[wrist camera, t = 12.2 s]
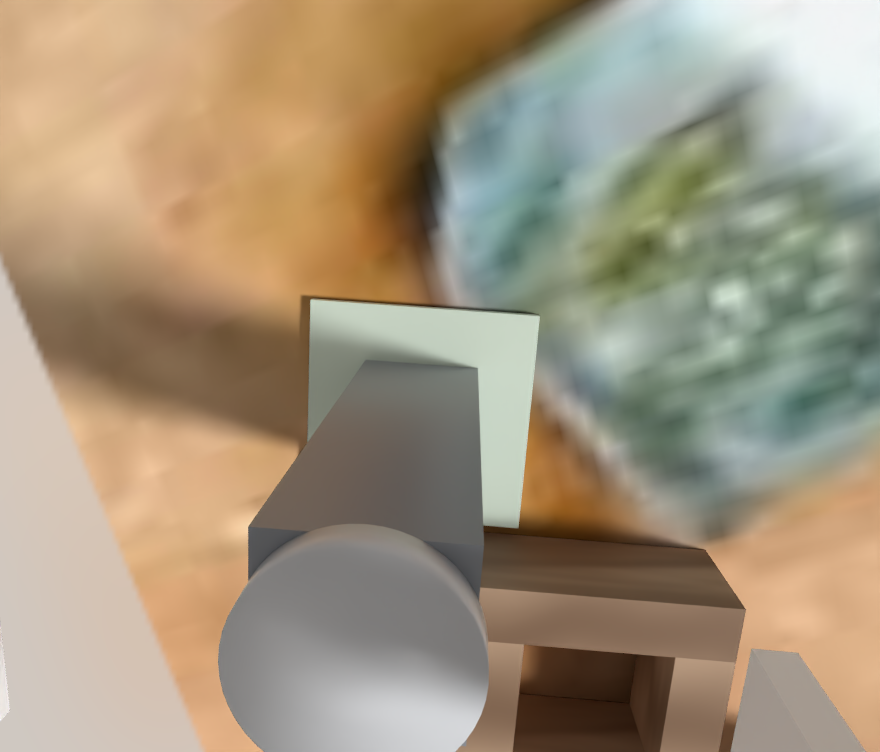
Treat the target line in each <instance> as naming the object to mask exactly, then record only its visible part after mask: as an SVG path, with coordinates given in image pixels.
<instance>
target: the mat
mask: <svg viewBox="0 0 880 752" xmlns="http://www.w3.org/2000/svg"><path fill="white" fill-rule="evenodd" d="M539 319H540V316H539V315H537V314H523V313H509V312H495V311H481V310H467V309H453V308H439V307H425V306H412V305H398V304H384V303H370V302H356V301H342V300H328V299H314V298H313V299H311V300H310V345H309V391H308V437H307V442H308V441H309V440H310V438H311V437H312V435H313V434H314V432H315V431H316V430H317V428H318V427H319V425H320V424H321V423H322V421H323V420H324V418H325V417H326V415H327V414H328V413H329V411H330V410H331V408H332V407H333V405H334V404H335V403H336V401H337V400H338V398H339V397H340V395H341V394H342V393H343V391H344V390H345V388H346V387H347V385H348V384H349V383H350V381H351V380H352V378H353V377H354V375H355V374H356V373H357V371H358V370H359V368H360V367H361V366H362V364H363V363H364V361H365V360H375V361H388V362H402V363H415V364H429V365H442V366H456V367H469V368H478V385H479V415H480V444H481V474H482V503H483V526H496V527H508V528H518V527H519V517H520V507H521V498H522V488H523V478H524V468H525V458H526V448H527V438H528V428H529V418H530V408H531V398H532V388H533V378H534V368H535V358H536V349H537V339H538V329H539Z"/></svg>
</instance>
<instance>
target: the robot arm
mask: <svg viewBox="0 0 880 752" xmlns="http://www.w3.org/2000/svg"><path fill="white" fill-rule="evenodd" d="M9 711H10V707H9V698H8V689H7V680H6V670H5V662H4V652H3V643H2V633H1V624H0V720H2V719H3V717H4V716H5V715H6V714H7V713H8V712H9ZM731 752H866V751H865V750H864V748H863V747H862V745H861V744H860V742H859V741H858V739H857V738H856V737H855V735H854V734H853V732H852V731H851V729H850V728H849V726H848V725H847V723H846V722H845V721H844V719H843V718H842V716H841V715H840V713H839V712H838V710H837V709H836V707H835V706H834V705H833V703H832V702H831V700H830V699H829V697H828V696H827V694H826V693H825V691H824V690H823V689H822V687H821V686H820V684H819V683H818V681H817V680H816V678H815V677H814V676H813V674H812V673H811V671H810V670H809V668H808V667H807V665H806V664H805V662H804V661H803V660H802V658H801V657H800V655H799V654H798V653H793V652H783V651H772V650H761V649H751V654H750V659H749V664H748V669H747V674H746V679H745V683H744V688H743V693H742V698H741V703H740V708H739V713H738V717H737V722H736V727H735V732H734V737H733V742H732V747H731Z"/></svg>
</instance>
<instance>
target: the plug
mask: <svg viewBox="0 0 880 752" xmlns="http://www.w3.org/2000/svg"><path fill="white" fill-rule="evenodd" d="M483 551H484V533H483V503H482V474H481V444H480V415H479V385H478V368H469V367H456V366H442V365H429V364H415V363H402V362H388V361H375V360H365V361H364V363H363V364H362V366H361V367H360V368H359V370H358V371H357V373H356V374H355V375H354V377H353V378H352V380H351V381H350V383H349V384H348V385H347V387H346V388H345V390H344V391H343V393H342V394H341V395H340V397H339V398H338V400H337V401H336V403H335V404H334V405H333V407H332V408H331V410H330V411H329V413H328V414H327V415H326V417H325V418H324V420H323V421H322V423H321V424H320V425H319V427H318V428H317V430H316V431H315V432H314V434H313V435H312V437H311V438H310V440H309V441H308V442H307V444H306V445H305V447H304V448H303V450H302V451H301V452H300V454H299V455H298V457H297V458H296V460H295V461H294V462H293V464H292V465H291V467H290V468H289V470H288V471H287V472H286V474H285V475H284V477H283V478H282V480H281V481H280V482H279V484H278V485H277V487H276V488H275V489H274V491H273V492H272V494H271V495H270V497H269V498H268V499H267V501H266V502H265V504H264V505H263V507H262V508H261V509H260V511H259V512H258V514H257V515H256V517H255V518H254V519H253V521H252V522H251V524H250V525H249V527H248V583H247V585H246V586H245V588H244V590H243V591H242V593H241V595H240V596H239V598H238V600H237V601H236V603H235V605H234V607H233V608H232V610H231V612H230V614H229V615H228V618H227V620H226V623H225V625H224V628H223V631H222V635H221V640H220V644H219V656H218V666H219V677H220V681H221V686H222V690H223V693H224V696H225V699H226V701H227V704H228V706H229V708H230V710H231V712H232V714H233V716H234V717H235V719H236V721H237V722H238V724H239V725H240V726H241V728H242V729H243V731H244V732H245V733H246V734H247V736H248V737H249V738H250V739H251V740H252V741H253V742H254V743H255V744H256V745H257V746H258V747H259V748H260V749H262V750H263V751H264V752H455V751H456V750H457V749H458V748H459V747H460V746H466V743H467V738H468V736H469V735H470V734H471V732H472V731H473V729H474V728H475V726H476V724H477V722H478V720H479V718H480V716H481V714H482V711H483V708H484V705H485V702H486V697H487V691H488V685H489V659H488V635H487V627H486V621H485V617H484V614H483V610H482V607H481V604H480V602H479V596H480V585H481V573H482V562H483Z"/></svg>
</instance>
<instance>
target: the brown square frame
mask: <svg viewBox="0 0 880 752" xmlns="http://www.w3.org/2000/svg"><path fill="white" fill-rule="evenodd" d="M483 533H484V551H483V562H482V573H481V585H480V596H479V602H480V604H481V607H482V610H483V614H484V617H485V621H486V627H487V635H488V659H489V685H488V691H487V697H486V702H485V705H484V708H483V711H482V714H481V716H480V718H479V720H478V722H477V724H476V726H475V728H474V729H473V731H472V732H471V734H470V735H469V736H468V738H467V743H466V746H460V747H459V748H458V749H457V750H456V751H455V752H719V748H720V743H721V737H722V732H723V727H724V722H725V716H726V711H727V706H728V701H729V695H730V690H731V685H732V680H733V674H734V669H735V664H736V659H737V653H738V648H739V643H740V638H741V632H742V627H743V622H744V617H745V611H746V609H745V608H744V606H743V605H742V603H741V602H740V600H739V599H738V597H737V596H736V594H735V593H734V591H733V590H732V588H731V587H730V586H729V584H728V583H727V581H726V580H725V578H724V577H723V575H722V574H721V572H720V571H719V569H718V568H717V566H716V565H715V563H714V562H713V561H712V559H711V558H710V556H709V555H708V553H707V552H706V550H697V549H685V548H673V547H660V546H648V545H636V544H623V543H611V542H599V541H586V540H574V539H561V538H549V537H537V536H524V535H512V534H500V533H487V532H483ZM524 645H534V646H546V647H558V648H570V649H581V650H593V651H605V652H616V653H628V654H637V656H636V663H635V670H634V676H633V683H632V689H631V696H630V703H618V702H607V701H596V700H584V699H573V698H561V697H550V696H538V695H527V694H519V688H520V678H521V669H522V660H523V650H524Z"/></svg>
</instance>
